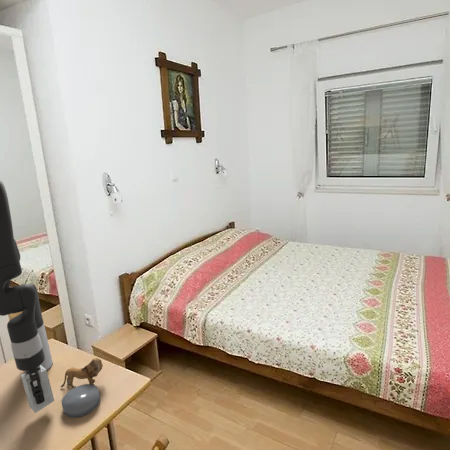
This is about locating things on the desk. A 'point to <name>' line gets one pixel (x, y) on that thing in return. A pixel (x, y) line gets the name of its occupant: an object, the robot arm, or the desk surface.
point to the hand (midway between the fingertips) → (39, 396)
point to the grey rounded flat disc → (80, 400)
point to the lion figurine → (84, 372)
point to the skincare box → (45, 386)
